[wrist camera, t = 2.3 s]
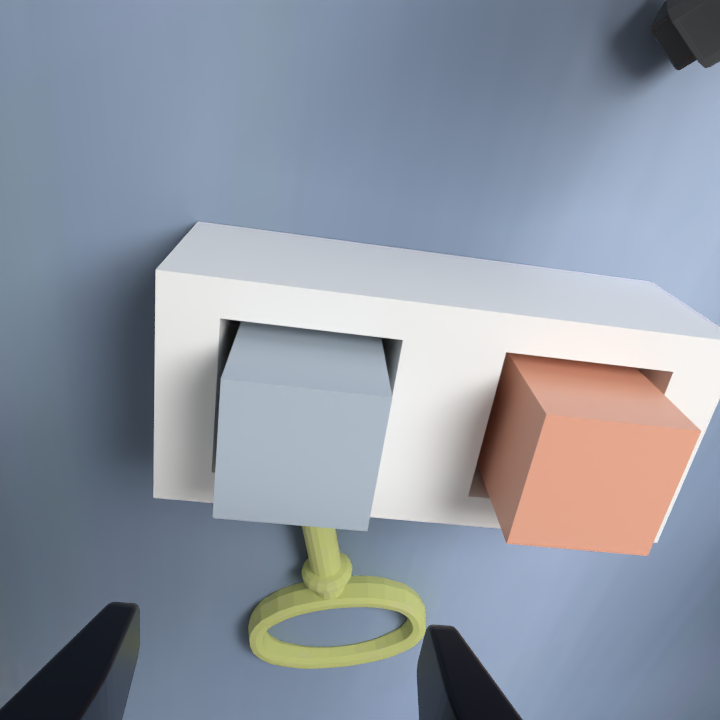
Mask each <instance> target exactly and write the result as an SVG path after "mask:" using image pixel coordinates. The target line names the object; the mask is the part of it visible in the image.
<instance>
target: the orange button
mask: <svg viewBox="0 0 720 720" xmlns="http://www.w3.org/2000/svg"><path fill="white" fill-rule="evenodd" d="M700 433H701V430H700V429H699V428H698V427H697V426H696V425H695V424H694V423H693V422H692V421H691V420H690V419H689V418H687V417H686V416H685V415H684V414H683V413H682V412H681V411H680V410H679V409H678V408H677V407H676V406H675V405H674V404H673V403H672V402H671V401H670V400H669V399H668V398H667V397H666V396H665V395H664V394H663V393H662V392H661V391H660V390H659V389H658V388H657V387H656V386H655V385H654V384H653V383H652V382H651V381H650V380H649V379H648V378H646V377H645V376H644V375H643V374H642V373H641V372H640V371H639V370H638V369H637V368H636V367H627V366H619V365H611V364H602V363H594V362H585V361H577V360H568V359H560V358H551V357H543V356H534V355H526V354H517V353H509V352H506V355H505V359H504V362H503V366H502V370H501V374H500V378H499V381H498V385H497V389H496V393H495V396H494V400H493V404H492V408H491V412H490V415H489V419H488V423H487V427H486V430H485V434H484V438H483V442H482V446H481V449H480V453H479V457H478V461H477V465H478V468H479V470H480V473H481V476H482V478H483V481H484V484H485V486H486V489H487V492H488V494H489V497H490V500H491V503H492V505H493V508H494V511H495V513H496V516H497V519H498V521H499V524H500V527H501V529H502V532H503V535H504V538H505V540H506V543H507V544H518V545H529V546H541V547H552V548H564V549H575V550H587V551H598V552H610V553H621V554H633V555H644V556H648V554H649V552H650V549H651V547H652V545H653V542H654V540H655V538H656V536H657V533H658V531H659V529H660V526H661V524H662V522H663V519H664V517H665V515H666V512H667V510H668V508H669V505H670V503H671V501H672V498H673V496H674V494H675V491H676V489H677V487H678V484H679V482H680V480H681V478H682V475H683V473H684V471H685V468H686V466H687V464H688V461H689V459H690V457H691V454H692V452H693V450H694V447H695V445H696V443H697V440H698V438H699V436H700Z"/></svg>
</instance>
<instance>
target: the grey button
mask: <svg viewBox="0 0 720 720" xmlns="http://www.w3.org/2000/svg"><path fill="white" fill-rule="evenodd" d="M391 403H392V392H391V387H390V382H389V376H388V371H387V366H386V360H385V355H384V350H383V344H382V339H381V337H373V336H365V335H356V334H348V333H339V332H331V331H322V330H314V329H305V328H297V327H288V326H280V325H272V324H263V323H255V322H246V321H241V323H240V326H239V329H238V332H237V335H236V337H235V340H234V343H233V346H232V349H231V352H230V354H229V357H228V360H227V363H226V366H225V368H224V371H223V374H222V377H221V383H220V400H219V417H218V434H217V451H216V468H215V485H214V502H213V518H218V519H230V520H241V521H253V522H264V523H276V524H287V525H299V526H310V527H322V528H333V529H345V530H356V531H367V530H368V525H369V520H370V514H371V509H372V504H373V498H374V493H375V488H376V483H377V477H378V472H379V467H380V461H381V456H382V451H383V445H384V440H385V435H386V429H387V424H388V419H389V414H390V408H391Z"/></svg>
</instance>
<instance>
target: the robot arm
mask: <svg viewBox="0 0 720 720" xmlns="http://www.w3.org/2000/svg"><path fill="white" fill-rule="evenodd" d="M139 645H140V609H139V606H138V605H137V604H135V603H124V602H112V603H109V604H108V605H107V606H106V607H105V608H103V609H102V610H101V611H100V612H99V613H98V614H97V615H96V616H95V617H94V618H93V619H92V620H91V621H90V622H89V623H88V624H87V625H86V626H85V627H84V628H83V629H82V630H81V631H80V632H79V633H78V634H77V635H76V636H75V637H74V638H73V639H72V640H71V641H70V642H69V643H68V644H67V645H66V646H65V647H64V648H63V649H62V650H61V651H59V652H58V653H57V654H56V655H55V656H54V657H53V658H52V659H51V660H50V661H49V662H48V663H47V664H46V665H45V666H44V667H43V668H42V669H41V670H40V671H39V672H38V673H37V674H36V675H35V676H34V677H33V678H32V679H31V680H30V681H29V682H28V683H27V684H26V685H25V686H24V687H23V688H22V689H21V690H20V691H19V692H18V693H16V694H15V695H14V696H13V697H12V698H11V699H10V700H9V701H8V702H7V703H6V704H5V705H4V706H3V707H2V708H1V709H0V720H122V718H123V714H124V710H125V706H126V702H127V698H128V694H129V690H130V686H131V682H132V678H133V674H134V670H135V666H136V662H137V658H138V653H139ZM417 687H418V705H419V720H522V718H521V717H520V716H519V714H518V713H517V711H516V710H515V709H514V707H513V706H512V705H511V703H510V702H509V700H508V699H507V698H506V696H505V695H504V694H503V692H502V691H501V690H500V688H499V687H498V685H497V684H496V683H495V681H494V680H493V679H492V677H491V676H490V674H489V673H488V672H487V670H486V669H485V668H484V666H483V665H482V663H481V662H480V661H479V659H478V658H477V657H476V655H475V654H474V653H473V651H472V650H471V648H470V647H469V646H468V644H467V643H466V642H465V640H464V639H463V637H462V636H461V635H460V633H459V632H458V631H457V630H456V629H455V628H454V627H452V626H446V625H430V626H428V628H427V629H426V632H425V636H424V640H423V644H422V648H421V651H420V655H419V659H418V665H417Z"/></svg>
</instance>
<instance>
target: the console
mask: <svg viewBox="0 0 720 720" xmlns="http://www.w3.org/2000/svg"><path fill="white" fill-rule="evenodd" d="M241 321H246V322H255V323H263V324H272V325H280V326H288V327H297V328H305V329H314V330H322V331H331V332H339V333H348V334H356V335H365V336H373V337H381V339H382V344H383V350H384V355H385V360H386V366H387V371H388V376H389V382H390V387H391V392H392V403H391V408H390V414H389V419H388V424H387V429H386V435H385V440H384V445H383V451H382V456H381V461H380V467H379V472H378V477H377V483H376V488H375V493H374V498H373V504H372V509H371V514H370V517H375V518H386V519H397V520H409V521H420V522H431V523H442V524H453V525H465V526H476V527H487V528H498V529H501V527H500V524H499V521H498V519H497V516H496V513H495V511H494V508H493V505H492V503H491V500H490V497H489V494H488V492H487V489H486V486H485V484H484V481H483V478H482V476H481V473H480V470H479V468H478V465H477V461H478V457H479V453H480V449H481V446H482V442H483V438H484V434H485V430H486V427H487V423H488V419H489V415H490V412H491V408H492V404H493V400H494V396H495V393H496V389H497V385H498V381H499V378H500V374H501V370H502V366H503V362H504V359H505V355H506V352H509V353H517V354H526V355H534V356H543V357H551V358H560V359H568V360H577V361H585V362H594V363H602V364H611V365H619V366H627V367H636V368H637V369H638V370H639V371H640V372H641V373H642V374H643V375H644V376H645V377H646V378H648V379H649V380H650V381H651V382H652V383H653V384H654V385H655V386H656V387H657V388H658V389H659V390H660V391H661V392H662V393H663V394H664V395H665V396H666V397H667V398H668V399H669V400H670V401H671V402H672V403H673V404H674V405H675V406H676V407H677V408H678V409H679V410H680V411H681V412H682V413H683V414H684V415H685V416H686V417H687V418H689V419H690V420H691V421H692V422H693V423H694V424H695V425H696V426H697V427H698V428H699V429H700V430H701V433H700V436H699V438H698V440H697V443H696V445H695V447H694V450H693V452H692V454H691V457H690V459H689V461H688V464H687V466H686V468H685V471H684V473H683V475H682V478H681V480H680V482H679V484H678V487H677V489H676V491H675V494H674V496H673V498H672V501H671V503H670V505H669V508H668V510H667V512H666V515H665V517H664V519H663V522H662V524H661V526H660V529H659V531H658V533H657V536H656V538H655V540H654V542H655V543H657V542H658V539H659V537H660V535H661V532H662V530H663V528H664V526H665V523H666V521H667V519H668V516H669V514H670V512H671V509H672V507H673V505H674V502H675V500H676V498H677V496H678V493H679V491H680V489H681V486H682V484H683V482H684V479H685V477H686V475H687V473H688V470H689V468H690V466H691V463H692V461H693V459H694V456H695V454H696V452H697V449H698V447H699V445H700V443H701V440H702V438H703V436H704V433H705V431H706V429H707V426H708V424H709V422H710V420H711V417H712V415H713V413H714V410H715V408H716V406H717V403H718V401H719V399H720V327H719V326H718V325H716V324H715V323H713V322H712V321H710V320H708V319H707V318H705V317H704V316H702V315H701V314H699V313H698V312H696V311H695V310H693V309H692V308H690V307H689V306H687V305H686V304H684V303H683V302H681V301H680V300H678V299H677V298H675V297H674V296H672V295H671V294H669V293H668V292H666V291H665V290H663V289H662V288H660V287H659V286H657V285H656V284H654V283H653V282H651V281H644V280H636V279H629V278H621V277H614V276H606V275H599V274H591V273H583V272H576V271H568V270H561V269H553V268H546V267H538V266H531V265H523V264H516V263H508V262H501V261H493V260H485V259H478V258H470V257H463V256H455V255H448V254H440V253H433V252H425V251H418V250H410V249H402V248H395V247H387V246H380V245H372V244H365V243H357V242H350V241H342V240H335V239H327V238H320V237H312V236H304V235H297V234H289V233H282V232H274V231H267V230H259V229H252V228H244V227H237V226H229V225H222V224H214V223H206V222H199V221H198V222H197V223H196V224H195V225H194V226H193V228H192V229H191V230H190V231H189V232H188V233H187V234H186V236H185V237H184V238H183V239H182V240H181V241H180V242H179V244H178V245H177V246H176V247H175V248H174V249H173V250H172V252H171V253H170V254H169V255H168V256H167V257H166V258H165V260H164V261H163V262H162V263H161V264H160V265H159V266H158V268H157V269H156V279H155V382H154V485H153V498H162V499H173V500H184V501H195V502H207V503H213V502H214V485H215V468H216V451H217V434H218V417H219V400H220V383H221V377H222V374H223V371H224V368H225V366H226V363H227V360H228V357H229V354H230V352H231V349H232V346H233V343H234V340H235V337H236V335H237V332H238V329H239V326H240V323H241Z"/></svg>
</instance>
